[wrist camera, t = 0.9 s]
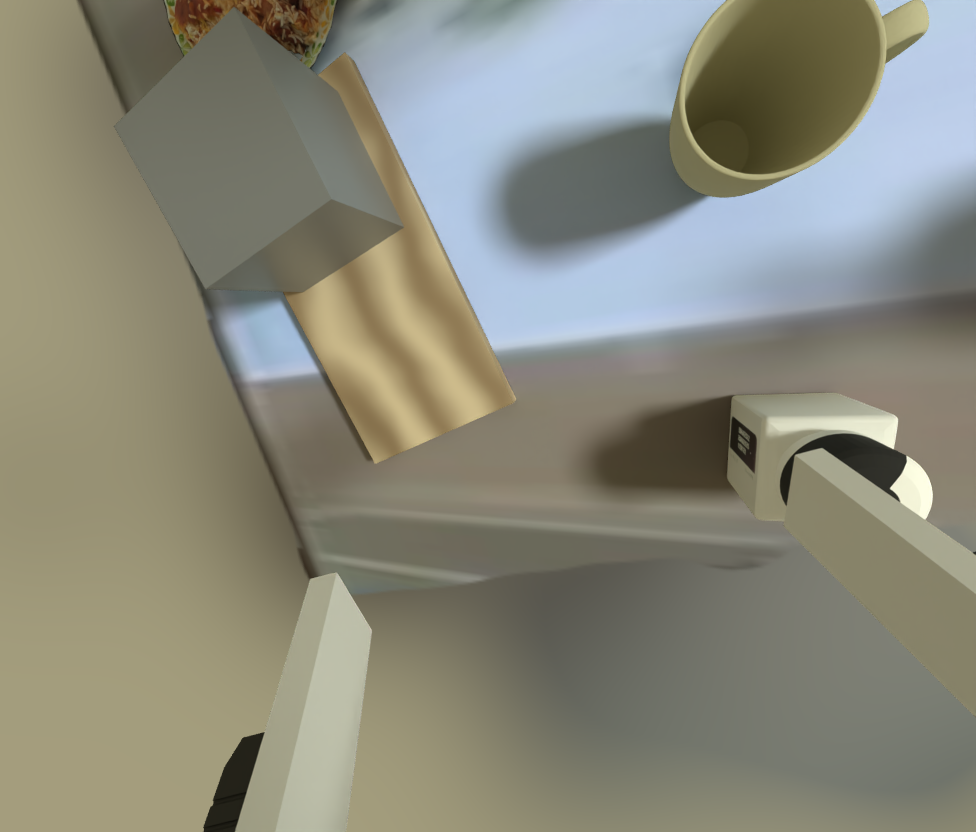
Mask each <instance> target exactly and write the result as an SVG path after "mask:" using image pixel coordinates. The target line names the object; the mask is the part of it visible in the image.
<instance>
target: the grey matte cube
mask: <svg viewBox="0 0 976 832" xmlns="http://www.w3.org/2000/svg"><path fill="white" fill-rule="evenodd" d="M114 127H115V129H116V131H117V133H118V134H119V136H120V138H121V139H122V142H123V143H124V145H125V147H126V149H127V151H128V152H129V154H130V156H131V158H132V159H133V161H134V163H135V165H136V166H137V168H138V170H139V172H140V174H141V175H142V177H143V179H144V181H145V182H146V184H147V186H148V188H149V190H150V191H151V193H152V195H153V197H154V199H155V200H156V202H157V204H158V205H159V208H160V209H161V211H162V213H163V215H164V216H165V218H166V220H167V222H168V224H169V225H170V227H171V229H172V231H173V232H174V234H175V236H176V238H177V240H178V241H179V243H180V245H181V247H182V248H183V250H184V252H185V254H186V256H187V257H188V259H189V261H190V263H191V264H192V266H193V268H194V270H195V272H196V273H197V275H198V277H199V279H200V281H201V282H202V284H203V286H204V288H205V289H213V290H246V291H279V292H304V291H306V290H308V289H309V288H311V287H312V286H314V285H315V284H317V283H318V282H320V281H322V280H323V279H325V278H326V277H328V276H329V275H331V274H332V273H334V272H336V271H337V270H339V269H340V268H342V267H343V266H345V265H346V264H348V263H350V262H351V261H353V260H354V259H356V258H357V257H359V256H360V255H362V254H364V253H365V252H367V251H368V250H370V249H371V248H373V247H374V246H376V245H378V244H379V243H381V242H382V241H384V240H385V239H387V238H388V237H390V236H392V235H393V234H395V233H396V232H398V231H399V230H401V229H402V228H404V226H403V224H402V221H401V219H400V217H399V215H398V213H397V211H396V209H395V207H394V205H393V203H392V201H391V199H390V197H389V195H388V193H387V191H386V189H385V187H384V185H383V183H382V181H381V179H380V176H379V174H378V172H377V170H376V168H375V166H374V164H373V162H372V160H371V158H370V156H369V154H368V152H367V150H366V148H365V146H364V144H363V142H362V140H361V138H360V136H359V133H358V131H357V129H356V127H355V125H354V123H353V121H352V119H351V117H350V115H349V113H348V111H347V109H346V107H345V105H344V103H343V101H342V99H341V97H340V95H339V93H338V91H337V90H335V89H334V88H333V87H332V86H331V85H329V84H328V83H327V82H326V81H324V80H323V79H322V78H321V77H320V76H318V75H317V74H316V73H315V72H313V71H312V70H311V69H310V68H309V67H307V66H306V65H305V64H304V63H302V62H301V61H300V60H299V59H297V58H296V57H295V56H294V55H293V54H291V53H290V52H289V51H288V50H286V49H285V48H284V47H283V46H282V45H280V44H279V43H278V42H277V41H275V40H274V39H273V38H272V37H271V36H269V35H268V34H267V33H266V32H264V31H263V30H262V29H261V28H259V27H258V26H257V25H256V24H255V23H253V22H252V21H251V20H250V19H248V18H247V17H246V16H245V15H244V14H242V13H241V12H240V11H239V10H237V9H236V8H235V7H233V8H232V9H231V10H230V11H229V12H228V13H227V14H226V15H225V16H224V17H223V18H222V19H221V20H220V21H219V22H218V23H217V24H216V25H215V26H214V27H213V28H212V29H211V30H210V31H209V32H208V33H207V34H206V35H205V36H204V37H203V38H202V39H201V40H200V41H199V42H198V43H197V44H196V45H195V46H194V47H193V48H192V49H191V50H190V51H189V52H188V53H187V54H186V55H185V56H184V57H183V58H182V59H181V60H180V61H179V62H178V63H177V64H176V65H175V66H174V67H173V68H172V69H171V70H170V71H169V72H168V73H167V74H166V75H165V76H164V77H163V78H162V79H161V80H160V81H159V82H158V83H157V84H156V85H155V86H154V87H153V88H152V89H151V90H150V91H149V92H148V93H147V94H146V95H145V96H144V97H143V98H142V99H141V100H140V101H139V102H138V103H137V104H136V105H135V106H134V107H133V108H132V109H131V110H130V111H129V112H128V113H127V114H126V115H125V116H124V117H123V118H122V119H121V120H120V121H119V122H118V123H117V124H116V125H115V126H114Z"/></svg>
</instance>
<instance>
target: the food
mask: <svg viewBox="0 0 976 832" xmlns="http://www.w3.org/2000/svg"><path fill="white" fill-rule="evenodd" d="M163 1H164V4H165V7H166V10H167V17H168V20H169V24H170V26H171V28H172V31H173V34H174V36H175V38H176V41H177V43H178V45H179V47H180V48H181V52H182V54H183V55H184V56H185V55H186V54H187V53H188V52H189V51H190V50H191V49H192V48H193V47H194V46H195V45H196V44H197V43H198V42H199V41H200V40H201V39H202V38H203V37H204V36H205V35H206V34H207V33H208V32H209V31H210V30H211V29H212V28H213V27H214V26H215V25H216V24H217V23H218V22H219V21H220V20H221V19H222V18H223V17H224V16H225V15H226V14H227V13H228V12H229V11H230V10H231V9H232V8H233V7H235V8H236V9H237V10H239V11H240V12H241V13H242V14H244V15H245V16H246V17H247V18H248V19H250V20H251V21H252V22H253V23H255V24H256V25H257V26H258V27H259V28H261V29H262V30H263V31H264V32H266V33H267V34H268V35H269V36H271V37H272V38H273V39H274V40H275V41H277V42H278V43H279V44H280V45H282V46H283V47H284V48H285V49H286V50H288V51H290V50H292V51H293V52H294V53H299V54H301V55H302V56H303V57H302V58H301V60H300V61H301V62H302V63H304V64H305V65H306V66H307V67H309V68H311V67H312V66H313V65H314V63H315V61H316V59H317V57H318V55H319V53H320V52H321V50H322V47H323V46H324V44H325V41H326V38H327V35H328V32H329V30H330V28H331V26H332V18H333V13H334V8H335V5H336V4H337V0H163ZM190 46H191V47H190ZM306 47H308V48H307V49H306ZM305 49H306V52H305Z"/></svg>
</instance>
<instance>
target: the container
mask: <svg viewBox="0 0 976 832" xmlns="http://www.w3.org/2000/svg"><path fill="white" fill-rule="evenodd" d="M897 425H898V418H897V417H896V416H895V415H893V414H890V413H888V412H885V411H882V410H880V409H877V408H875V407H872V406H869V405H867V404H864V403H861V402H859V401H856V400H854V399H851V398H848V397H846V396H843V395H840V394H838V393H803V394H763V395H736V396H733V397H732V400H731V417H730V434H729V451H728V468H727V480H728V481H729V482H730V484H731V485H732V486H733V488H734V489H735V490H736V492H737V493H738V495H739V496H740V497H741V499H742V500H743V501H744V503H745V504H746V505H747V507H748V508H749V509H750V511H751V512H752V513H753V515H754V516H755V517H756V518H757V519H759V520H768V521H784V520H785V514H786V507H787V501H788V495H789V488H790V482H791V476H792V470H793V463H794V457H795V455H796V454H800V453H804V452H808V451H812V450H816V449H820V448H823V449H824V450H826V451H827V452H829V453H830V454H831V455H833V456H834V457H836V458H837V459H839V460H840V461H841V462H843V463H844V464H846V465H847V466H849V467H850V468H851V469H853V470H854V471H856V472H857V473H859V474H860V475H862V476H863V477H864V478H866V479H867V480H869V481H870V482H872V483H873V484H874V485H876V486H877V487H879V488H880V489H882V490H883V491H884V492H886V493H887V494H889V495H890V496H892V497H893V498H895V499H896V500H897V501H899V502H900V503H902V504H903V505H905V506H906V507H907V508H909V509H910V510H912V511H913V512H915V513H916V514H917V515H919V516H920V517H922V518H923V519H926V517H927V516H928V513H929V511H930V509H931V504H932V496H933V493H932V486H931V483H930V480H929V478H928V476H927V474H926V473H925V471H924V470H923V469H922V468H921V466H920V465H919V464H917V463H916V462H915V461H914V460H912V459H911V458H909V457H908V456H906V455H904V454H902V453H900V452H898V451H896V450H894V445H895V438H896V432H897Z"/></svg>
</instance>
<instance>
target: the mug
mask: <svg viewBox="0 0 976 832" xmlns="http://www.w3.org/2000/svg"><path fill="white" fill-rule="evenodd" d="M928 26H929V16H928V11H927V8H926V6H925V4H924V3H923V1H921V0H912V1H910V2H908V3H906V4H904V5H902V6H900V7H898V8H896V9H895V10H893V11H891V12H889V13H888V14H886V15H884V16H883V17H882V16H881V13H880V11H879V9H878V6H877V5H876V3H875V1H874V0H726V1H725V2H724V3H723V4H722V5H721V6H720V7H719V8H718V9H717V10H716V11H715V13H714V14H713V15H712V16H711V17H710V18H709V20H708V21H707V22H706V24H705V25H704V26H703V28H702V29H701V31H700V33H699V34H698V36H697V37H696V39H695V41H694V43H693V45H692V47H691V49H690V51H689V53H688V56H687V58H686V61H685V64H684V67H683V70H682V74H681V78H680V83H679V87H678V91H677V95H676V99H675V104H674V108H673V112H672V117H671V123H670V132H669V147H670V153H671V158H672V162H673V164H674V167H675V169H676V171H677V173H678V175H679V176H680V178H681V179H682V180H683V181H684V182H685V183H686V184H687V185H688V186H689V187H690V188H692V189H693V190H695V191H697V192H699V193H701V194H704V195H708V196H712V197H736V196H742V195H745V194H749V193H752V192H755V191H758V190H760V189H763V188H765V187H768V186H770V185H772V184H774V183H776V182H778V181H781V180H783V179H785V178H787V177H789V176H791V175H793V174H796V173H798V172H800V171H802V170H804V169H806V168H808V167H810V166H812V165H814V164H815V163H817V162H819V161H820V160H822V159H823V158H825V157H826V156H827V155H829V154H830V153H831V152H832V151H834V150H835V149H836V148H837V147H838V146H839V145H840V144H842V143H843V142H844V141H845V140H846V138H847V137H848V136H849V135H850V134H851V133H852V132H853V131H854V129H855V128H856V127H857V126H858V124H859V123H860V122H861V120H862V119H863V117H864V116H865V114H866V113H867V111H868V109H869V108H870V106H871V104H872V102H873V100H874V98H875V96H876V94H877V91H878V88H879V86H880V83H881V79H882V76H883V72H884V67H885V64H886V63H887V62H889V61H890V60H892V59H893V58H894V57H896V56H897V55H899V54H900V53H902V52H903V51H904V50H906V49H907V48H908V47H910V46H911V45H912V44H914V43H915V42H916V41H917V40H919V39H920V38H921V37H922V36H923V35H924V34H925V33H926V31H927V29H928Z"/></svg>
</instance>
